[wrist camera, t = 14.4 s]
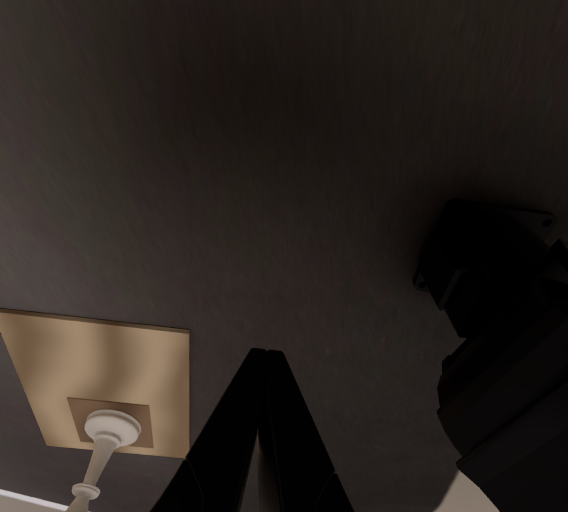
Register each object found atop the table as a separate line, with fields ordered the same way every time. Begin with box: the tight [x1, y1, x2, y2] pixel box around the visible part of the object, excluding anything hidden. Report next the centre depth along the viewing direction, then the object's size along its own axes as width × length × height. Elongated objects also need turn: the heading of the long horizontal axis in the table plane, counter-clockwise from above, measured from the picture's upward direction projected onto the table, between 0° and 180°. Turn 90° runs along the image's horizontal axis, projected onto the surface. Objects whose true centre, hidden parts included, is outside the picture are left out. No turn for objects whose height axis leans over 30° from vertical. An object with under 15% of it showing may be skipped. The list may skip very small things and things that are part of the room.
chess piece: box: [65, 409, 141, 512], centre depth 29 cm, size 5×5×10 cm
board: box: [0, 308, 190, 458], centre depth 32 cm, size 14×18×1 cm
